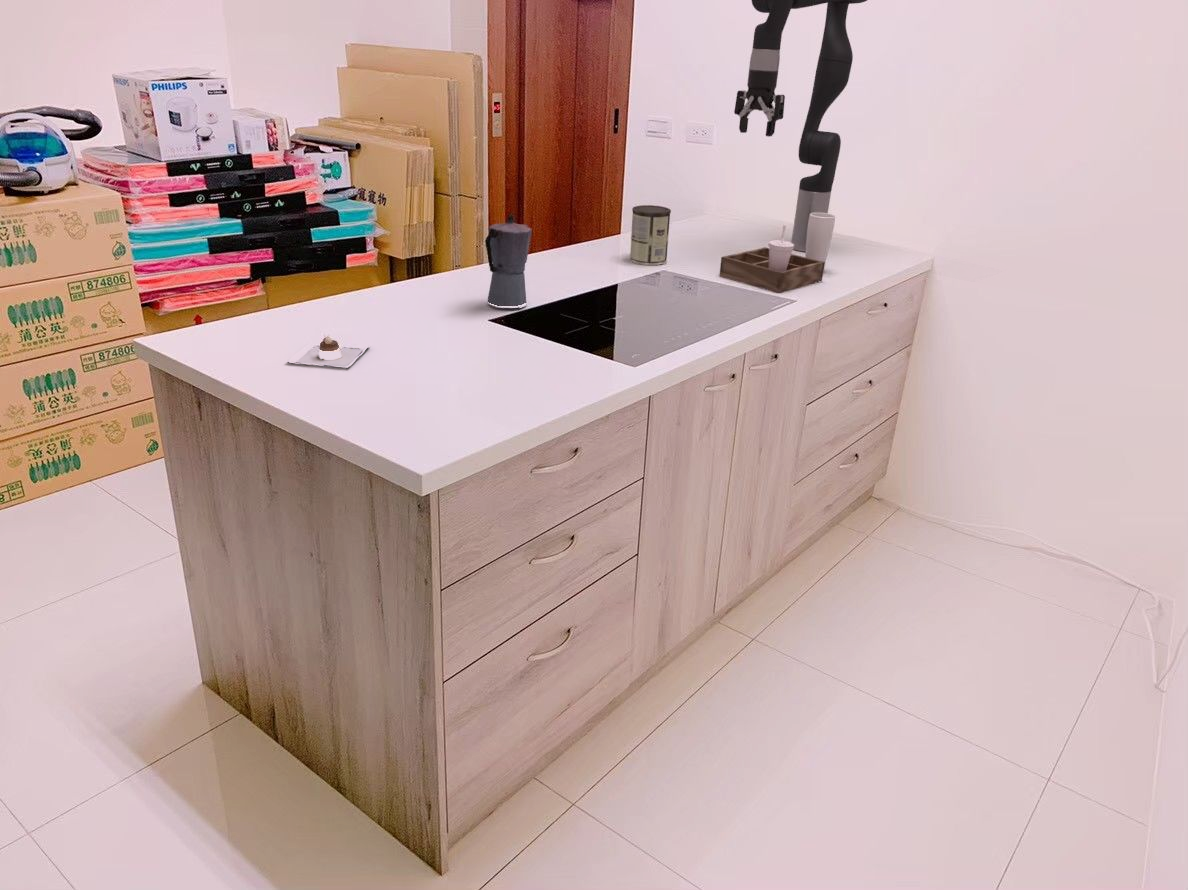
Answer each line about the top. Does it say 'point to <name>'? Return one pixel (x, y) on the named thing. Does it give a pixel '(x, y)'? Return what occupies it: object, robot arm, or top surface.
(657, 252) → the coffee can
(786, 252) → the smoothie
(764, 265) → the bottle crate
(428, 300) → the top surface
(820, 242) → the drinking glass
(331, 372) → the top surface
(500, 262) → the moka pot
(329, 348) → the dessert
